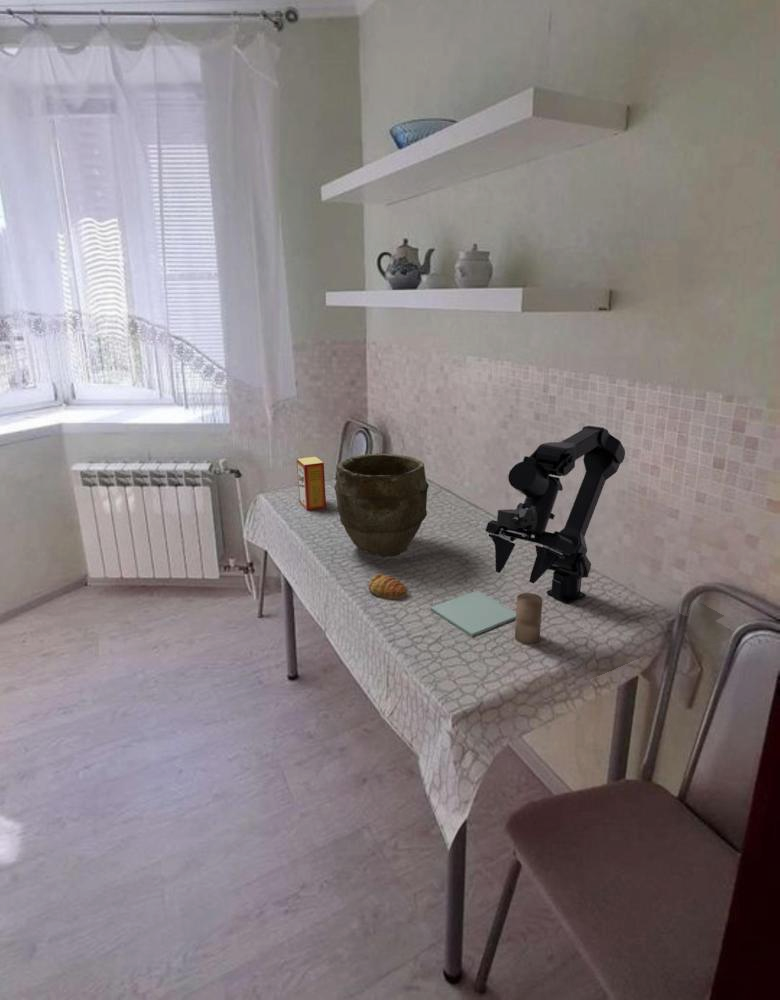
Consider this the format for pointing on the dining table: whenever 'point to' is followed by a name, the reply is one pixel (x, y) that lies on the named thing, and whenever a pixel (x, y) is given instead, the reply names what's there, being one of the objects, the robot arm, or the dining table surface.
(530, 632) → the brown rounded cylinder
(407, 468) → the clay pot
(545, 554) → the robot arm
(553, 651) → the dining table surface
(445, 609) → the card
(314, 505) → the baking soda box
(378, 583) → the pastry
